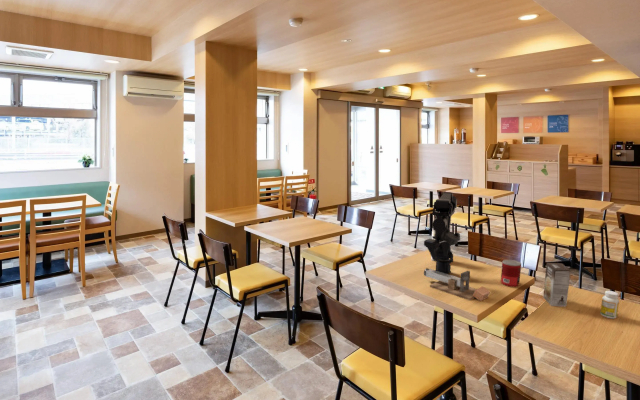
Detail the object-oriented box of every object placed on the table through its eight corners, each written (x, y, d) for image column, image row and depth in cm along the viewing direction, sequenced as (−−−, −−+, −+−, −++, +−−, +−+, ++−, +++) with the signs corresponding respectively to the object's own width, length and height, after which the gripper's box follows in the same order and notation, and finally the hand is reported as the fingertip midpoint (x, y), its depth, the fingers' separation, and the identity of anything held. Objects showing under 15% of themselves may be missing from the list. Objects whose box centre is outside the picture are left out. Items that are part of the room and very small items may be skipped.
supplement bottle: (608, 319, 151) (611, 295, 149) (596, 313, 156) (599, 290, 155) (620, 318, 152) (623, 294, 150) (608, 312, 157) (611, 289, 155)
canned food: (521, 287, 182) (523, 265, 180) (502, 286, 184) (504, 264, 182) (516, 281, 189) (518, 260, 188) (498, 280, 191) (500, 259, 189)
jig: (429, 286, 183) (430, 267, 181) (443, 280, 191) (444, 262, 189) (469, 300, 168) (471, 279, 166) (483, 293, 176) (484, 272, 174)
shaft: (423, 276, 190) (424, 269, 189) (428, 274, 192) (428, 267, 192) (459, 288, 176) (460, 280, 175) (463, 286, 178) (464, 278, 178)
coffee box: (542, 297, 172) (545, 262, 169) (558, 298, 170) (561, 262, 168) (550, 306, 163) (554, 269, 160) (567, 307, 161) (571, 270, 159)
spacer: (483, 295, 166) (481, 301, 168) (490, 291, 170) (487, 297, 171) (475, 290, 169) (472, 295, 170) (481, 286, 173) (479, 292, 174)
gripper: (444, 232, 172) (443, 266, 175) (467, 226, 184) (465, 258, 186) (423, 228, 181) (422, 260, 183) (447, 222, 192) (445, 252, 195)
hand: (439, 257), depth 187 cm, fingers open, 9 cm apart
